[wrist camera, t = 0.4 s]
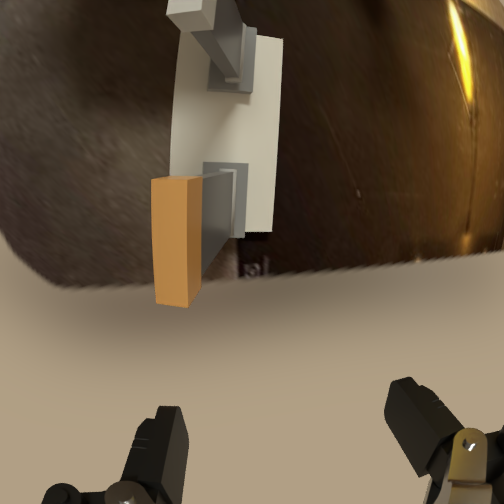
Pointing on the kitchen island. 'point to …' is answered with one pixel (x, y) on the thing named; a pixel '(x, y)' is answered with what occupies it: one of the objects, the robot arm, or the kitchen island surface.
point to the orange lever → (189, 230)
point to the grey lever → (214, 31)
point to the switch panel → (230, 124)
